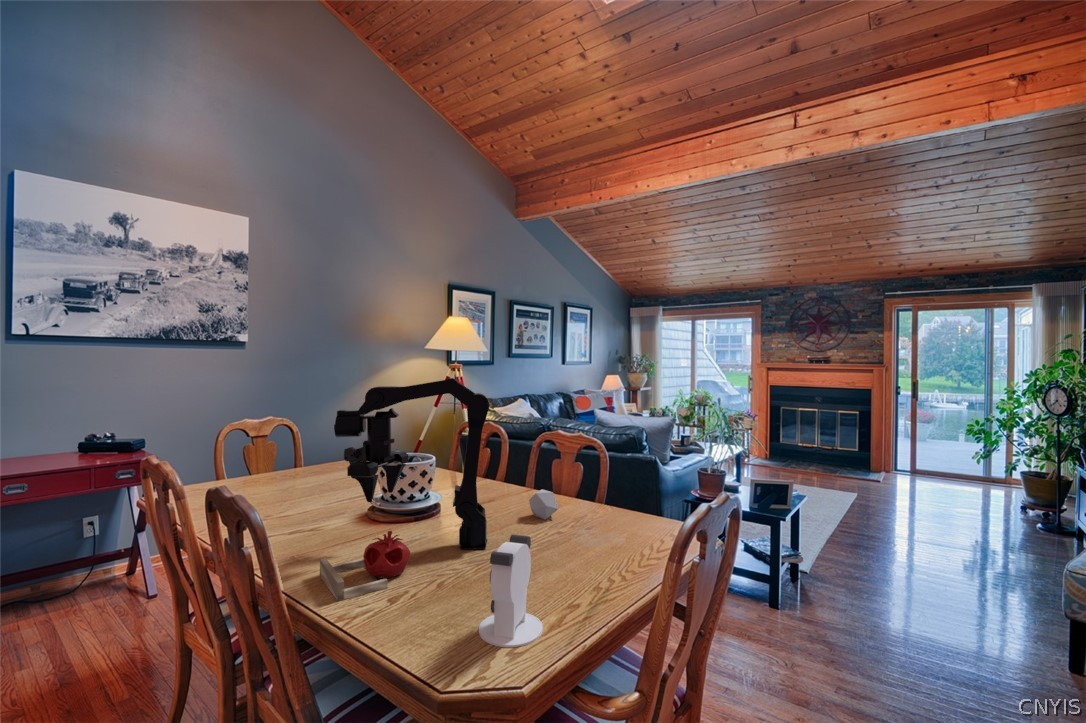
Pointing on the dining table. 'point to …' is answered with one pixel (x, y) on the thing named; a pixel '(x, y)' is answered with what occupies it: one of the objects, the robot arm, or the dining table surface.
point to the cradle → (337, 583)
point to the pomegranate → (386, 557)
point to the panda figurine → (510, 597)
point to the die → (543, 504)
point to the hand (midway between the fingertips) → (380, 497)
